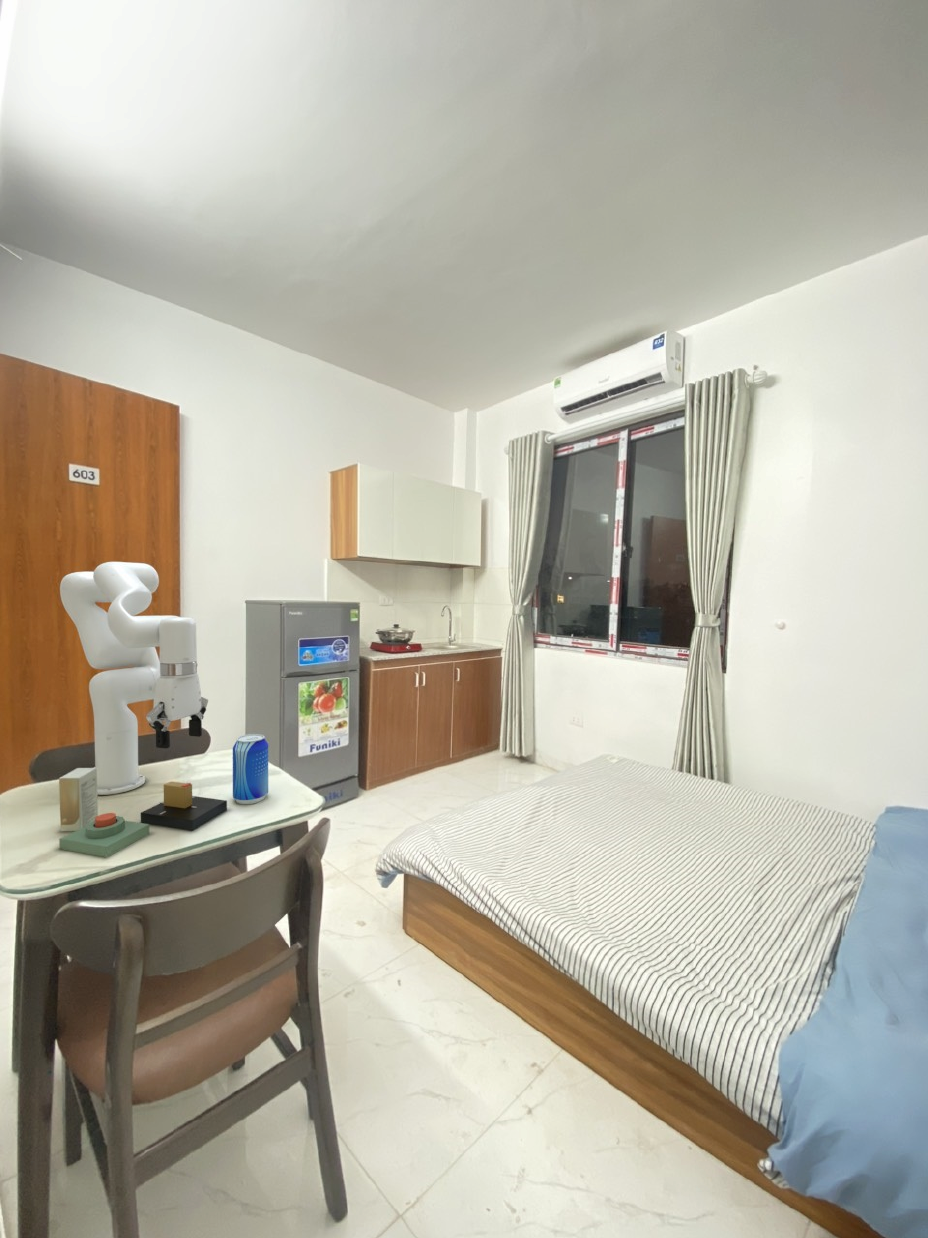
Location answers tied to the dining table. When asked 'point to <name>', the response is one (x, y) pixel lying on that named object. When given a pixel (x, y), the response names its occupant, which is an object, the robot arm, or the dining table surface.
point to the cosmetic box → (78, 798)
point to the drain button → (105, 820)
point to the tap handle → (178, 794)
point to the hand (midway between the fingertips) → (179, 741)
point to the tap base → (184, 814)
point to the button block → (104, 837)
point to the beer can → (250, 769)
